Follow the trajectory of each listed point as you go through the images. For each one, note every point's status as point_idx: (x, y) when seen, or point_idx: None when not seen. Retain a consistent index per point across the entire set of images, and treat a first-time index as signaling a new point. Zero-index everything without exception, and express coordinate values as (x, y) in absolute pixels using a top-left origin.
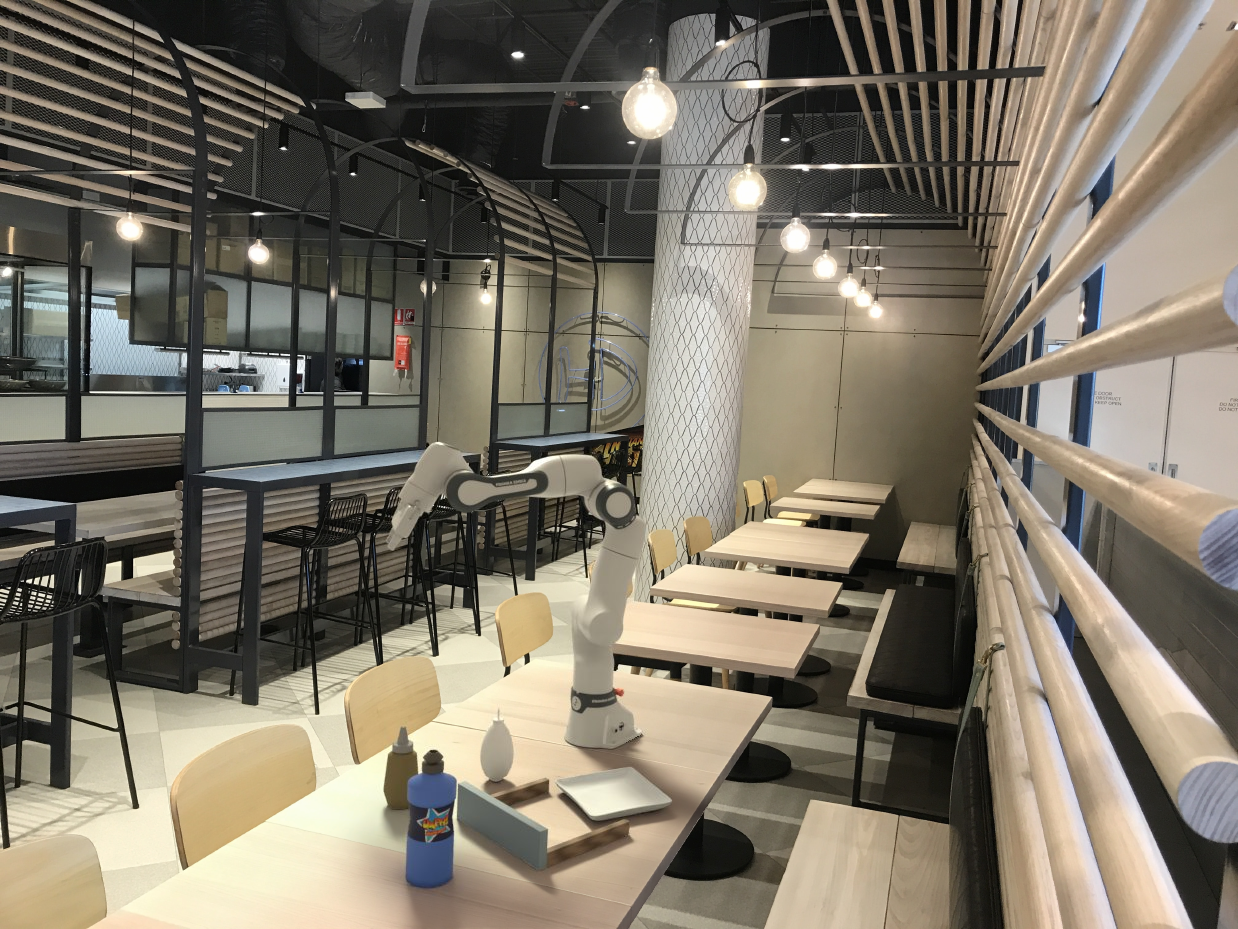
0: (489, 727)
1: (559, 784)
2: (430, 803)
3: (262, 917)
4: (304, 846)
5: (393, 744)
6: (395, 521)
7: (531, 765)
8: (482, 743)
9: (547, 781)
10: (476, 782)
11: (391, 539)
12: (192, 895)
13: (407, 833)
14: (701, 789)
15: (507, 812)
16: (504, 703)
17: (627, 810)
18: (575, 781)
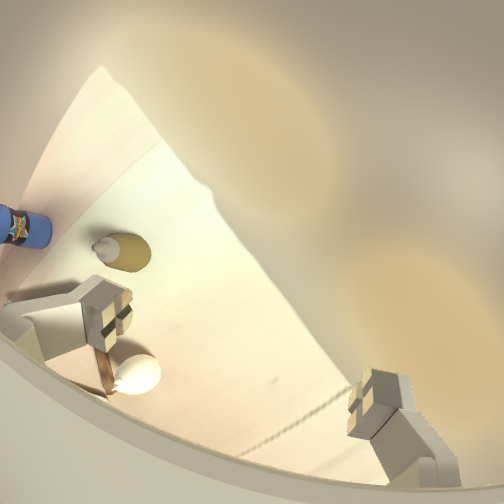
0: (124, 373)
1: (105, 400)
2: None
3: (57, 127)
4: (112, 157)
5: (106, 237)
6: (136, 496)
7: (173, 415)
8: (136, 361)
9: (106, 392)
10: (155, 346)
11: (52, 301)
12: (98, 90)
13: (24, 211)
14: None
15: (26, 300)
16: (367, 471)
17: None
18: None
